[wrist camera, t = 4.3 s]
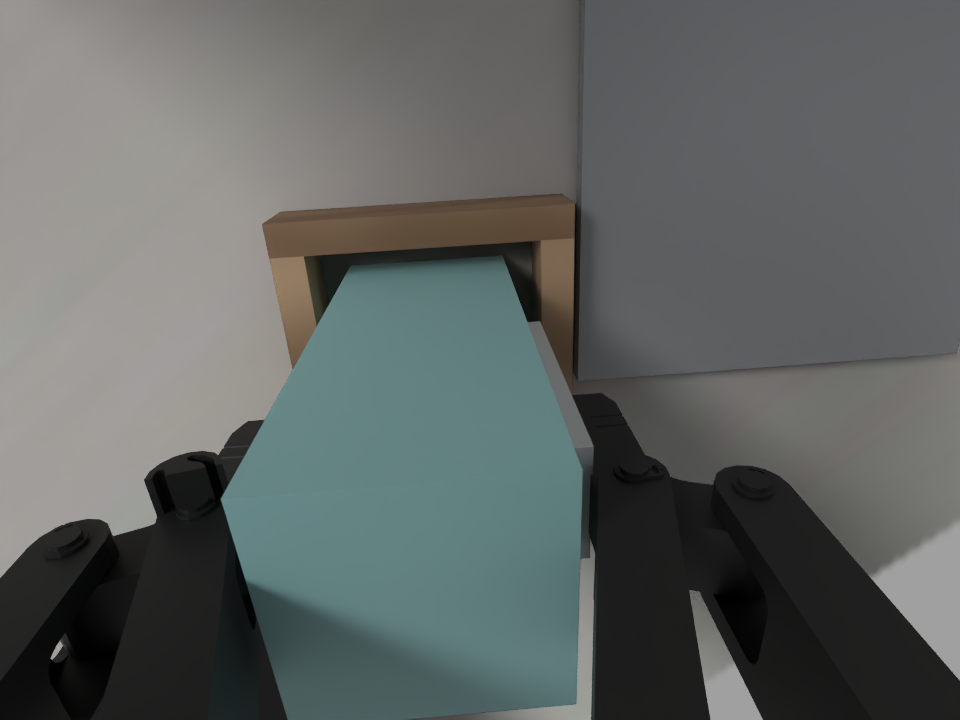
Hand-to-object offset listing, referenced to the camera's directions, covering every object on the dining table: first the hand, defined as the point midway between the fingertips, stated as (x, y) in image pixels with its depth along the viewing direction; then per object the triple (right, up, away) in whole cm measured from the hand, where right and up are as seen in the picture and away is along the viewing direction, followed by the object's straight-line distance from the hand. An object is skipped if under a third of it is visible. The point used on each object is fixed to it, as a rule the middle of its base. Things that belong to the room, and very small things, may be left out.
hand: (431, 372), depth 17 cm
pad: (+12, +7, +2) cm, 13 cm away
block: (0, +1, +3) cm, 3 cm away
